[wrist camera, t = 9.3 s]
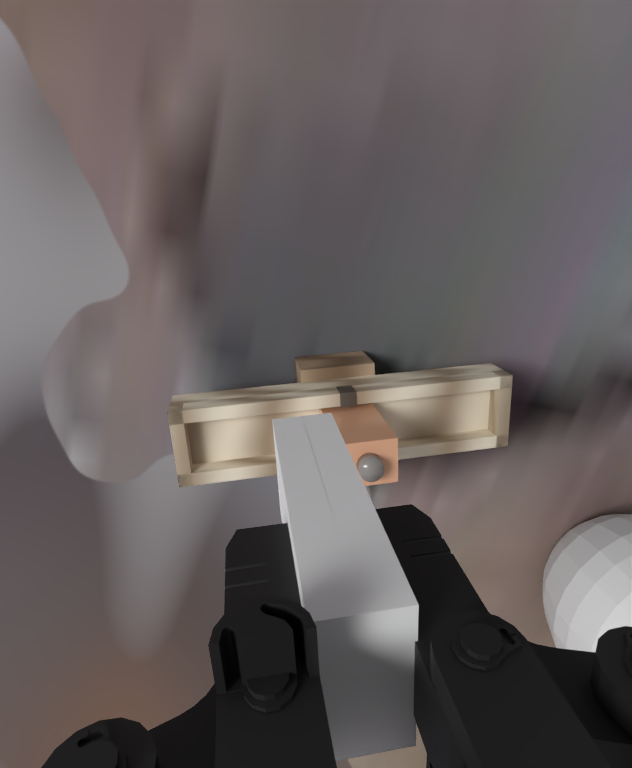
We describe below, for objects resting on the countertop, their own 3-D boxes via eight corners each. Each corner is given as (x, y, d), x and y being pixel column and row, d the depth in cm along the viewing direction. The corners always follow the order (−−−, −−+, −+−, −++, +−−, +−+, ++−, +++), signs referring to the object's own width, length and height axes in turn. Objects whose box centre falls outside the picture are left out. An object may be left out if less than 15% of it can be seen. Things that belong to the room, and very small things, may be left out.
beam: (188, 454, 45) (180, 499, 38) (175, 368, 43) (164, 399, 36) (466, 422, 49) (507, 457, 42) (470, 340, 46) (514, 363, 39)
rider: (321, 444, 40) (342, 497, 33) (319, 406, 39) (340, 452, 32) (371, 438, 41) (402, 489, 33) (370, 401, 40) (402, 444, 32)
